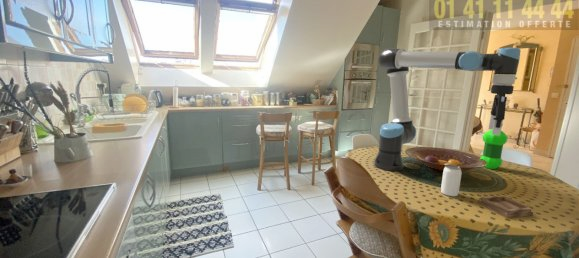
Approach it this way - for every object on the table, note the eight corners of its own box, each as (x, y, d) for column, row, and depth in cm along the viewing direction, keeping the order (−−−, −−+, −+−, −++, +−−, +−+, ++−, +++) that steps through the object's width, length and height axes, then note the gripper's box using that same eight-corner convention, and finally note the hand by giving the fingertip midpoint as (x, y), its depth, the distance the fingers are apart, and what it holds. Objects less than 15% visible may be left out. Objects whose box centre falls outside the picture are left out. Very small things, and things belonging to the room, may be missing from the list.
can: (437, 191, 112) (440, 165, 109) (447, 189, 114) (451, 163, 111) (450, 198, 106) (454, 170, 103) (461, 195, 108) (466, 168, 105)
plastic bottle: (503, 171, 135) (512, 125, 130) (479, 168, 140) (486, 123, 135) (499, 166, 144) (508, 122, 138) (477, 163, 149) (484, 120, 144)
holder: (506, 218, 91) (507, 211, 90) (477, 202, 102) (478, 196, 101) (532, 215, 93) (534, 209, 92) (501, 200, 104) (502, 194, 103)
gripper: (520, 86, 100) (509, 138, 104) (508, 84, 120) (500, 128, 125) (496, 85, 104) (486, 136, 108) (488, 83, 124) (481, 126, 129)
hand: (493, 132), depth 117 cm, fingers open, 13 cm apart
